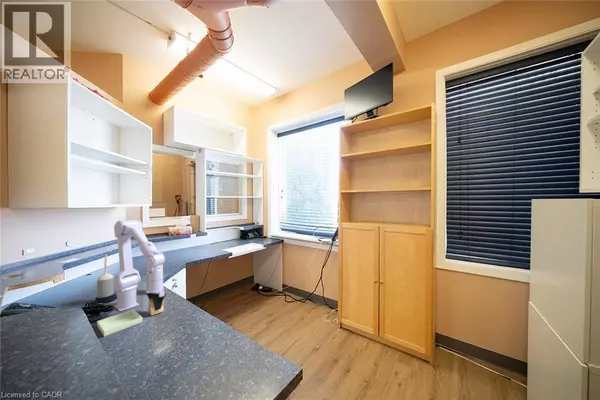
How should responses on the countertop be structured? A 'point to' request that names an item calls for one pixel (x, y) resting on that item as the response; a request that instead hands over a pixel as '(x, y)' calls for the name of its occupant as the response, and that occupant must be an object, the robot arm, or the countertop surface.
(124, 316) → the tray
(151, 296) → the robot arm
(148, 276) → the light wooden block
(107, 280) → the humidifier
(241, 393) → the countertop surface
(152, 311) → the block
